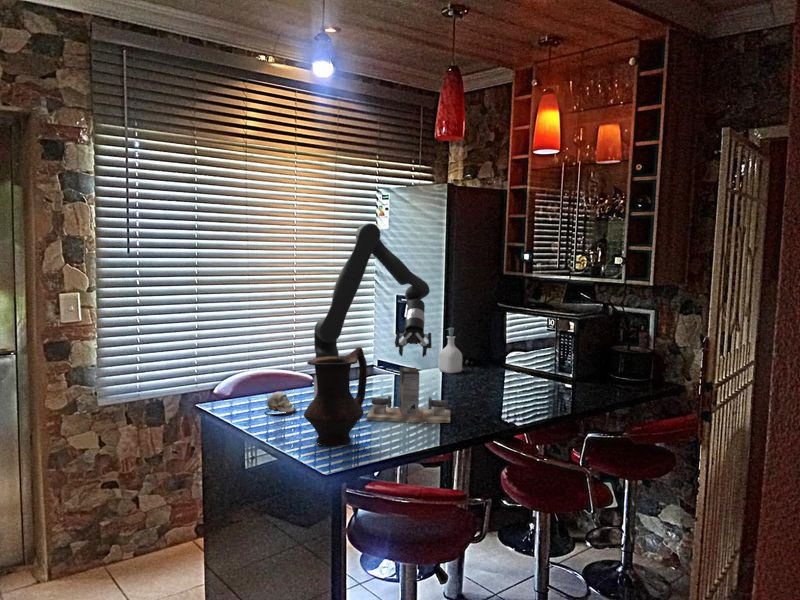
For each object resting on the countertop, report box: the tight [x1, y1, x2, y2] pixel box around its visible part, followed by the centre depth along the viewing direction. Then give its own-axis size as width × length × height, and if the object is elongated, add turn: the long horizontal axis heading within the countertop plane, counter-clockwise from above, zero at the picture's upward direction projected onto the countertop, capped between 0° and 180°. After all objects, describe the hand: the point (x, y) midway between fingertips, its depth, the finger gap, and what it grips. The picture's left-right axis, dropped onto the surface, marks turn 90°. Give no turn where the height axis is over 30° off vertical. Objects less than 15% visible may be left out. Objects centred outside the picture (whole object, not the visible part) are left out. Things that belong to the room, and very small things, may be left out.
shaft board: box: [366, 395, 451, 424], centre depth 228 cm, size 30×14×8 cm, turn 85°
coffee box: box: [398, 366, 420, 416], centre depth 228 cm, size 9×6×16 cm
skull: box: [267, 391, 297, 415], centre depth 232 cm, size 12×10×10 cm
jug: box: [303, 346, 368, 447], centre depth 195 cm, size 21×18×30 cm
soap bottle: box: [438, 327, 463, 374], centre depth 316 cm, size 10×10×23 cm
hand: (412, 355), depth 238 cm, fingers open, 8 cm apart
